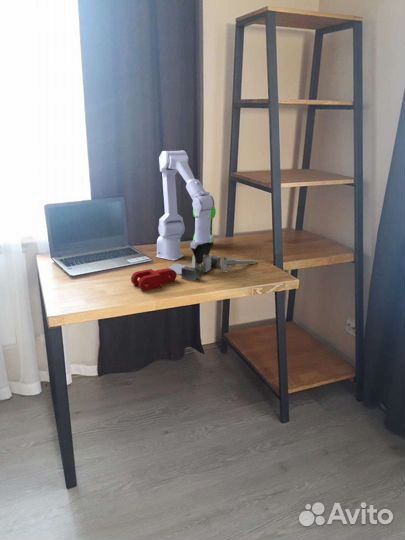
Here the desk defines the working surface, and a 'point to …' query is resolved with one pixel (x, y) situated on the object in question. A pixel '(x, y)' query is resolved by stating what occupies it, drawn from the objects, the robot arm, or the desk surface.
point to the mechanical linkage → (153, 278)
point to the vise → (198, 270)
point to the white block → (205, 261)
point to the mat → (177, 268)
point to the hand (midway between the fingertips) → (201, 261)
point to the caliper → (234, 263)
